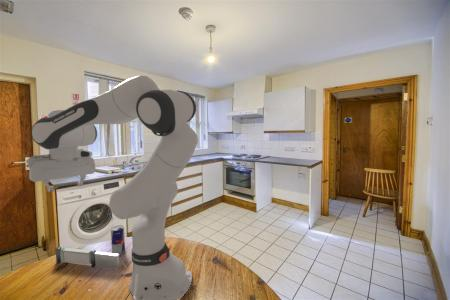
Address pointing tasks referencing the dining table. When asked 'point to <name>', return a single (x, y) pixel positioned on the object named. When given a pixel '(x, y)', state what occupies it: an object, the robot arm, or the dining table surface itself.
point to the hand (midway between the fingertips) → (66, 188)
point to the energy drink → (118, 240)
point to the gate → (75, 256)
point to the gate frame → (98, 259)
